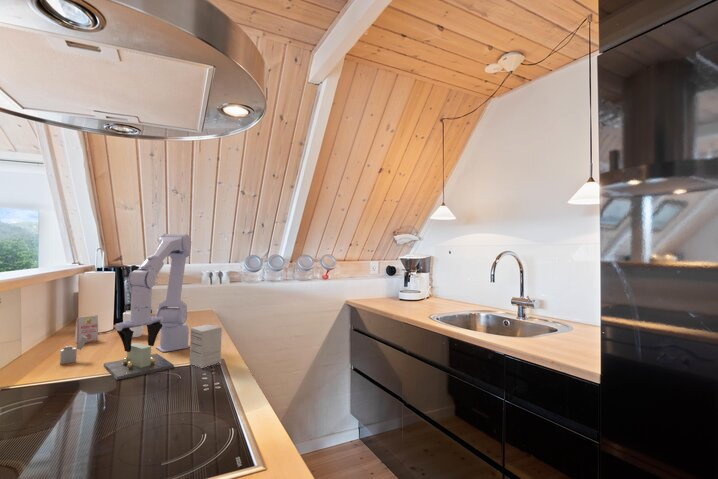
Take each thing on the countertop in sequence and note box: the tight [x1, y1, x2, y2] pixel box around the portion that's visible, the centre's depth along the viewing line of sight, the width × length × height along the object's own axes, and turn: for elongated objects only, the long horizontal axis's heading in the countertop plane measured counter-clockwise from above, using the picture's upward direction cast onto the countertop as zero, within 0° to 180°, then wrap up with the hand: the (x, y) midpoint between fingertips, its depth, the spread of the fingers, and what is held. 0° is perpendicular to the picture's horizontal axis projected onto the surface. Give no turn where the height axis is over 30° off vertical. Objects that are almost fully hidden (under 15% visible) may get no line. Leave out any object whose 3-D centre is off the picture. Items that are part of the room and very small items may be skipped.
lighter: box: [59, 336, 88, 365], centre depth 123 cm, size 7×2×8 cm, turn 136°
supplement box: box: [189, 323, 223, 368], centre depth 124 cm, size 7×7×13 cm
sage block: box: [126, 342, 152, 368], centre depth 120 cm, size 3×8×6 cm, turn 62°
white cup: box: [122, 310, 144, 338], centre depth 157 cm, size 8×8×10 cm
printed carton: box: [74, 315, 99, 345], centre depth 147 cm, size 4×7×10 cm, turn 136°
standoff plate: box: [103, 353, 175, 381], centre depth 120 cm, size 16×16×3 cm
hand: (139, 348), depth 120 cm, fingers open, 7 cm apart
